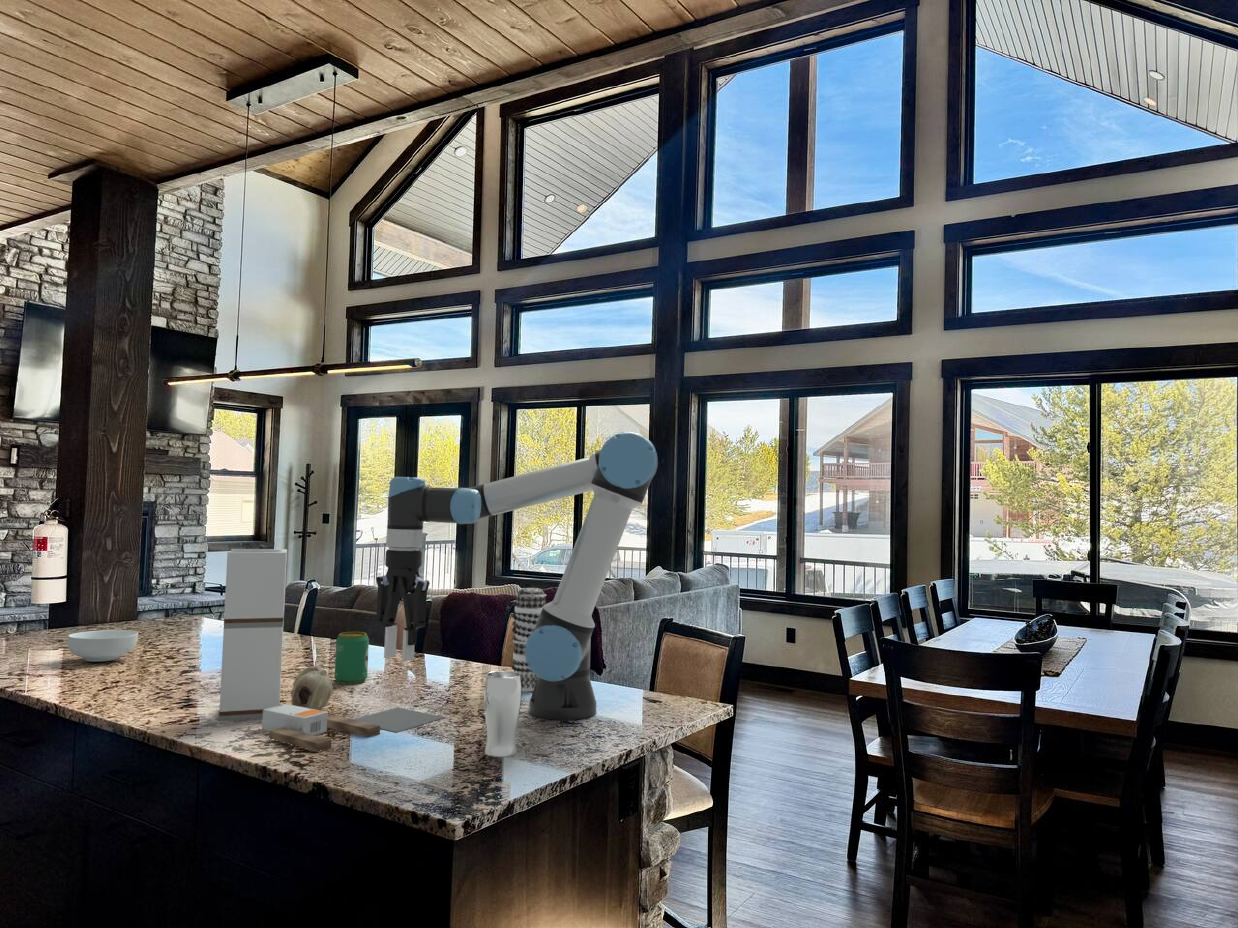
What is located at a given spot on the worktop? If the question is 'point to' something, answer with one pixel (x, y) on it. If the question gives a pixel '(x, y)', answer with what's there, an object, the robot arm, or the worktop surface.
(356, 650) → the beverage can
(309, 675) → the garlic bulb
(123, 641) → the cereal bowl
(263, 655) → the white tall block
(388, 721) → the charcoal mat
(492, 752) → the beer glass
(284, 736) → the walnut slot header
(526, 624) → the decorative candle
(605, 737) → the worktop surface
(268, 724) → the skincare box
